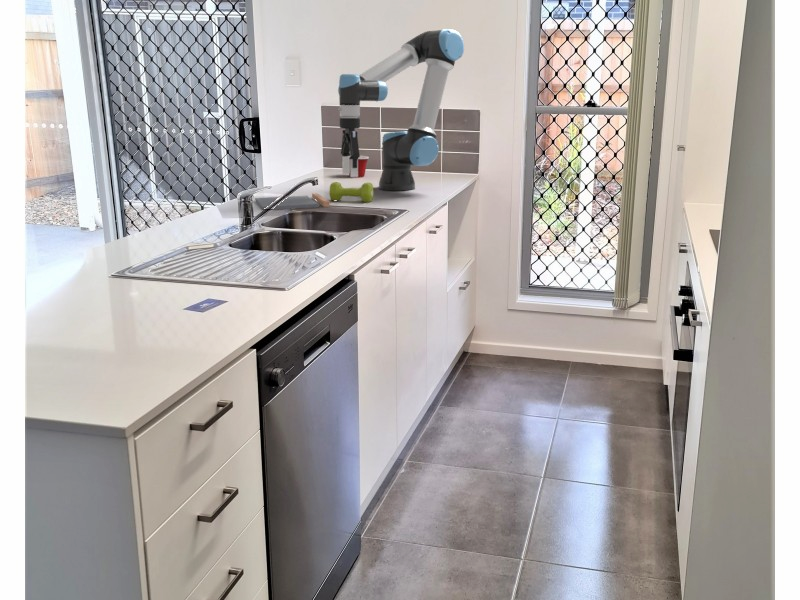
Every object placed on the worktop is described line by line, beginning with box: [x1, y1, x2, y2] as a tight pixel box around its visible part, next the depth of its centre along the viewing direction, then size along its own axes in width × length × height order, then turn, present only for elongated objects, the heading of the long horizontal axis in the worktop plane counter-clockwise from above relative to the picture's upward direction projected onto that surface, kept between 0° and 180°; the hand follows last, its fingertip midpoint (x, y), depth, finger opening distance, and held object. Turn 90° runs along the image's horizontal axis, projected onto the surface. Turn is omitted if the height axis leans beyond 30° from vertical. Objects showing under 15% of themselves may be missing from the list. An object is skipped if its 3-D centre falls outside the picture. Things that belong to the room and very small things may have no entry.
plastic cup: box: [348, 155, 370, 179], centre depth 358 cm, size 11×11×12 cm
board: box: [254, 195, 320, 210], centre depth 292 cm, size 20×24×1 cm
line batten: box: [311, 192, 330, 208], centre depth 295 cm, size 2×24×2 cm, turn 16°
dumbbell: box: [328, 181, 374, 203], centre depth 298 cm, size 16×8×7 cm, turn 77°
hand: (350, 175), depth 296 cm, fingers open, 13 cm apart
